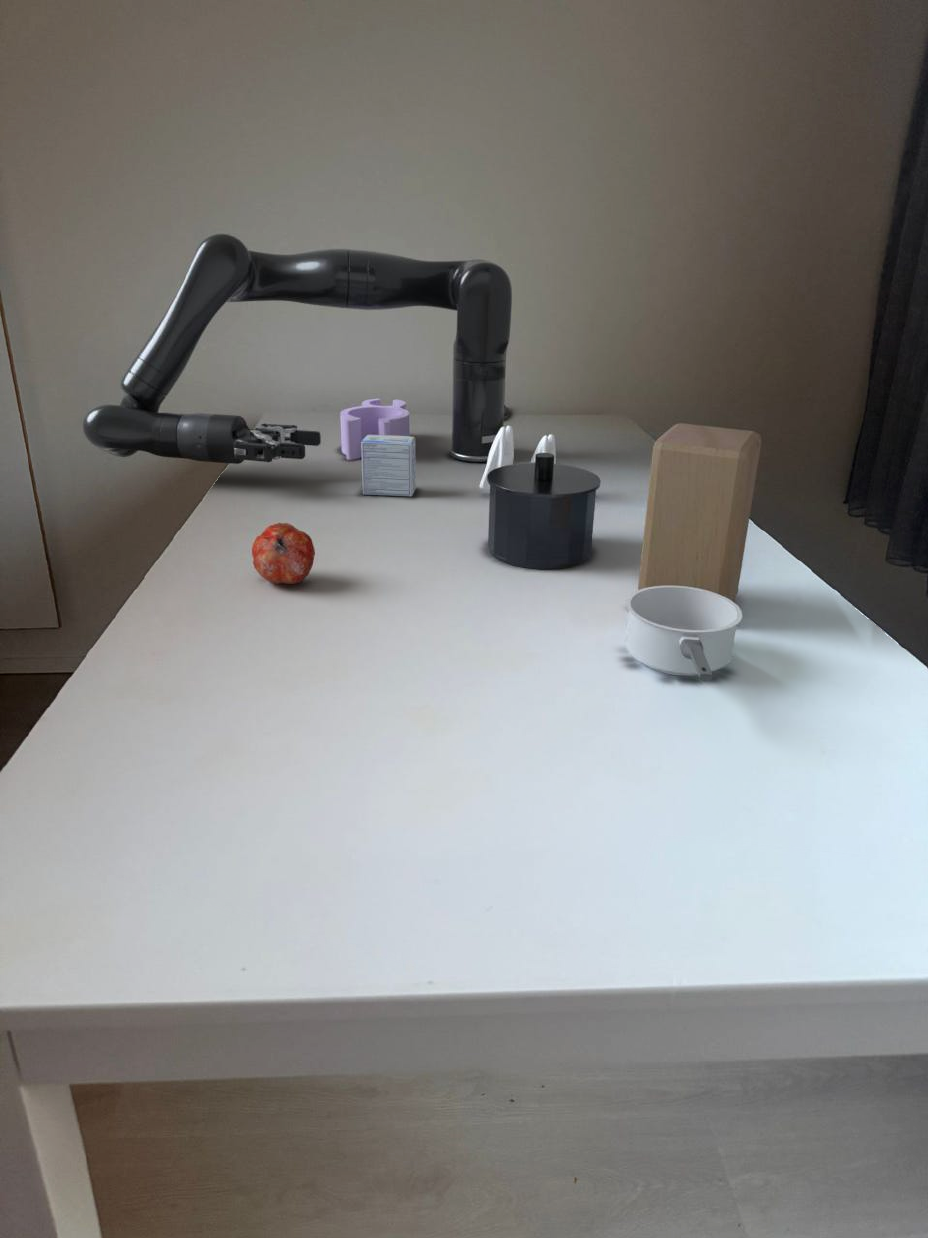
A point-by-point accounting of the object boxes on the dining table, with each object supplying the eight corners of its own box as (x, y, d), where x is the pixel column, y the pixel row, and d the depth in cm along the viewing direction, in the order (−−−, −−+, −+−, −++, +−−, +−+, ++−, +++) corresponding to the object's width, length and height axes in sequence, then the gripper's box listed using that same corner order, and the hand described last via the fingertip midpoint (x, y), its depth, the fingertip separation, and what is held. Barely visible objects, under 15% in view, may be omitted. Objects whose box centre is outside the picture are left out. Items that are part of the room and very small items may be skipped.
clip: (356, 433, 179) (355, 397, 176) (419, 435, 178) (419, 400, 175) (333, 459, 161) (331, 420, 158) (402, 462, 160) (402, 423, 157)
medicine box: (416, 489, 145) (416, 436, 142) (412, 497, 141) (411, 442, 138) (367, 487, 146) (366, 433, 142) (362, 495, 142) (360, 440, 138)
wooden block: (737, 597, 108) (764, 430, 99) (722, 629, 99) (749, 450, 91) (654, 582, 111) (673, 420, 103) (633, 612, 103) (651, 438, 95)
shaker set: (479, 499, 141) (481, 429, 136) (477, 491, 145) (479, 422, 140) (555, 500, 142) (560, 429, 137) (552, 492, 145) (556, 423, 141)
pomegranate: (258, 587, 113) (231, 565, 103) (274, 533, 115) (249, 506, 105) (315, 599, 112) (293, 578, 102) (330, 544, 114) (310, 518, 104)
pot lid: (492, 468, 125) (493, 438, 123) (599, 473, 123) (602, 444, 121) (480, 499, 111) (481, 466, 110) (600, 506, 110) (602, 473, 108)
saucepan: (633, 725, 81) (639, 670, 78) (616, 629, 99) (621, 582, 97) (763, 733, 80) (774, 678, 78) (723, 635, 98) (730, 587, 96)
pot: (493, 530, 128) (496, 464, 124) (590, 536, 126) (596, 470, 122) (483, 565, 116) (485, 493, 112) (590, 572, 114) (596, 500, 110)
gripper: (193, 424, 135) (298, 431, 134) (227, 405, 148) (324, 411, 147) (197, 473, 139) (300, 480, 137) (230, 450, 151) (325, 457, 150)
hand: (312, 445), depth 142 cm, fingers open, 8 cm apart
